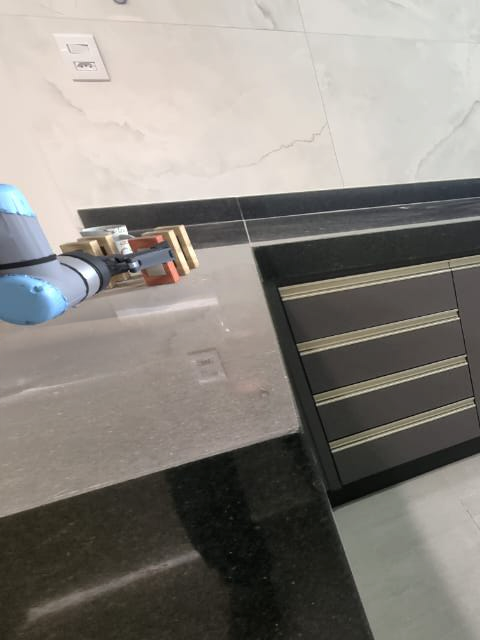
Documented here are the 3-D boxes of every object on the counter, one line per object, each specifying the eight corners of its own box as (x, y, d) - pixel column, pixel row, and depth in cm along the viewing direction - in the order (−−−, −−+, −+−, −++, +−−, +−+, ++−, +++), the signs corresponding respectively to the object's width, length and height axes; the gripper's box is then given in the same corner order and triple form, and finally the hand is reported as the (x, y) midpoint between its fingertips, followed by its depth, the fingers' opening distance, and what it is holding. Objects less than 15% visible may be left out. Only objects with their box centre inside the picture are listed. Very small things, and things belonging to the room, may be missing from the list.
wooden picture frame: (159, 278, 121) (140, 234, 117) (175, 268, 130) (157, 227, 125) (185, 275, 123) (167, 231, 118) (199, 265, 131) (183, 224, 127)
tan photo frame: (82, 292, 113) (58, 245, 109) (104, 280, 121) (83, 236, 117) (111, 288, 114) (89, 242, 110) (131, 277, 123) (111, 234, 119)
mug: (120, 264, 136) (102, 225, 131) (167, 263, 135) (150, 223, 131) (89, 273, 128) (68, 232, 124) (138, 271, 128) (119, 230, 123)
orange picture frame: (147, 286, 115) (126, 240, 111) (153, 282, 118) (133, 237, 113) (175, 282, 117) (155, 237, 112) (180, 279, 119) (161, 234, 115)
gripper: (-16, 311, 85) (55, 279, 103) (171, 288, 94) (207, 261, 112) (-44, 266, 82) (35, 240, 100) (153, 246, 90) (193, 225, 108)
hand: (126, 251), depth 106 cm, fingers open, 13 cm apart
